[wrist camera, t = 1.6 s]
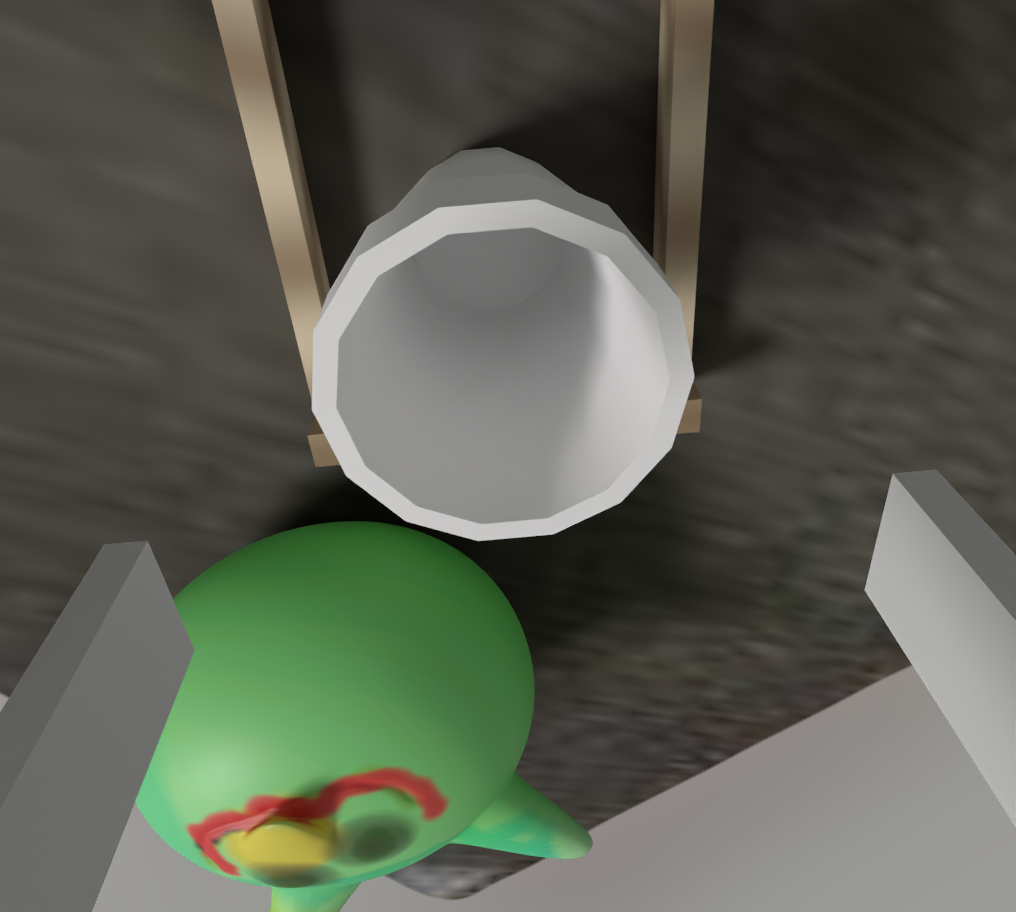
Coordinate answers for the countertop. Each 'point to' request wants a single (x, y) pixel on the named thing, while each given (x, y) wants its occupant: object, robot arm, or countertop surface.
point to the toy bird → (348, 716)
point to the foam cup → (499, 354)
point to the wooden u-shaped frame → (291, 208)
